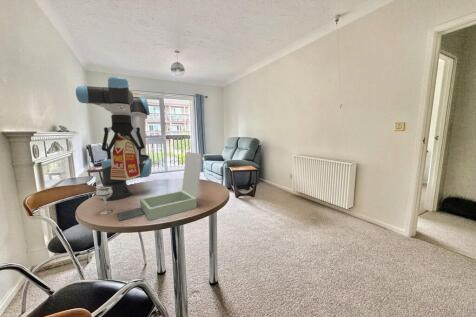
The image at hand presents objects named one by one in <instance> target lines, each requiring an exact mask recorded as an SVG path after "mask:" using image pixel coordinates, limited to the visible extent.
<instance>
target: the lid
mask: <svg viewBox="0 0 476 317" xmlns="http://www.w3.org/2000/svg"><path fill="white" fill-rule="evenodd" d="M185 152H186V153H185V162H184V169H183V178H182V179H183V180H182V187H181V191H184V192H185V193H187V194H189V195H191V196H193V197H194V198H196V199H198V194H199V186H200V176H201V168H202V159H203V158H205V156H204V154H203V153H202V154H201V153H195V152H192V151H191V152H189V151H185Z"/></svg>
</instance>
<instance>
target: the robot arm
mask: <svg viewBox="0 0 476 317" xmlns="http://www.w3.org/2000/svg"><path fill="white" fill-rule="evenodd" d="M75 96H76V99H77V101H78V102H79V103H81V104H86V105H87V104H91V105H92V104H93V105H96V106H99V107H101V108H104V110H106V111H108V112H109V113H110V114H111V115H110V118H111V126H110V127H108V126H106V127H104V128H103V132H104V134H103V139H102V145H101V151H104V152H106V155H107V159H106V160H103V161H102V162H101V174H102V181H103V182H102V183H103V187H106V186H111V187H112V190H113V193H112V195H111V196H110V197H109V198H107V199H106V201H115V200H116V201H117V200H120V199H121V200H122V199H124V198H127V197H130V195H131V190H130V188H129V187H130V186H128V183H127V180H117V179H111V163H112V167H114V160H113V151H112V150H113V147H114V143H115V141H116V139H117V137H118V133H119V134H120V136H128V137H129V139H130V140H131V141H132V142H133V143H134V147H135V150H136V155H137V163H138V164H139V169H140V176H138V177H136V178H135V179H137V178H138V179H139V178H141V179H142V178H147V177H150V175H151V173H152V163H153V162H152V158H151V157H150V156H149V155H148V153H147V138H146V136H147V135H146V134H147V133H146V119H147V118H148V116H149V115H150V109H149V103H148V100H147V98H146V96H145V97H144V96H134V94H133V92H132V91H130V89H129V81H128V79H127V78H124V77H122V76H110V77H108V79H107V87H105V86H88V85H80V86H77V87H76V88H75ZM111 131H112V132H113V133H114V135H113V137H112V138H111V140H110V142H109V144H108V143H107V142H108V137H109V133H111ZM107 144H108V146H107ZM106 147H107V148H106ZM101 200H102V201H104V200H103V199H101Z"/></svg>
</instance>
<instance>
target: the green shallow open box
mask: <svg viewBox="0 0 476 317" xmlns="http://www.w3.org/2000/svg"><path fill="white" fill-rule="evenodd" d="M139 204H140V209H141V210H142V211H143V213H144V216H145V217H147V218H148V220H149V221H152V220H153V221H154V220H157V219H160V218H165V217H169V216H172V215H176V214H179V213H184V212H187V211H191V210H196V209H197V198H195V197H193V196H191V195H190V194H188V193H186V192H184V191H182V190H180V191H179V190H178V191H173V192H169V193H163V194H159V195H153V196H148V197H143V198H139Z"/></svg>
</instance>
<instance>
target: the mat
mask: <svg viewBox="0 0 476 317" xmlns="http://www.w3.org/2000/svg"><path fill="white" fill-rule="evenodd" d="M143 216H145V213H144V212H143V211H142V210H141V207H137V208H133V209H128V210H123V211H119V212H116V217H117V218H118V220H119V222H122V221H126V220H130V219H133V218H137V217H143Z"/></svg>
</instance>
